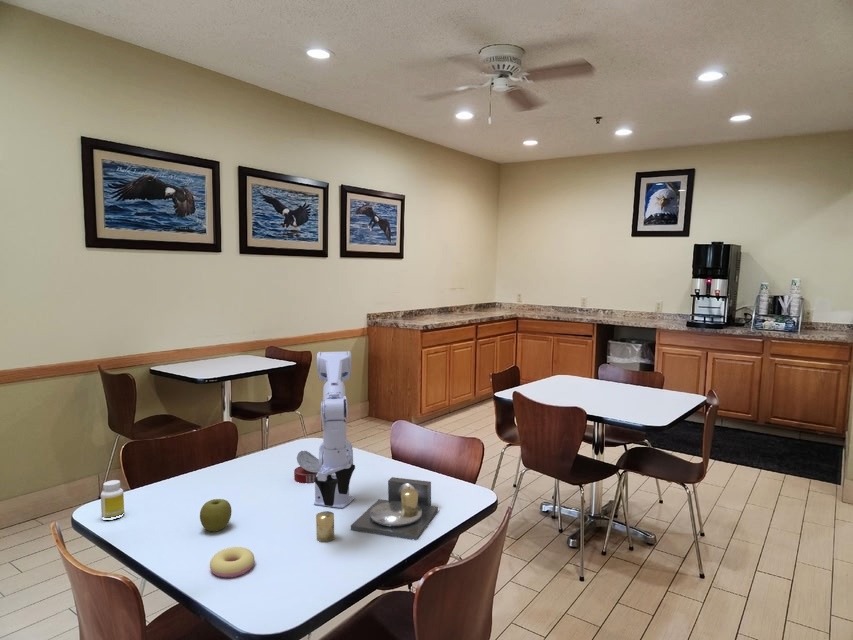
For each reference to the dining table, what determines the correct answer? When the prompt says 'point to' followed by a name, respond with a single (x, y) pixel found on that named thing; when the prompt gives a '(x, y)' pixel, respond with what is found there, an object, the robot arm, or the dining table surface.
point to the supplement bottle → (112, 499)
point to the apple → (215, 514)
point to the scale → (394, 494)
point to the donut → (232, 562)
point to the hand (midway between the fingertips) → (336, 499)
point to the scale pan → (392, 514)
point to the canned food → (306, 468)
